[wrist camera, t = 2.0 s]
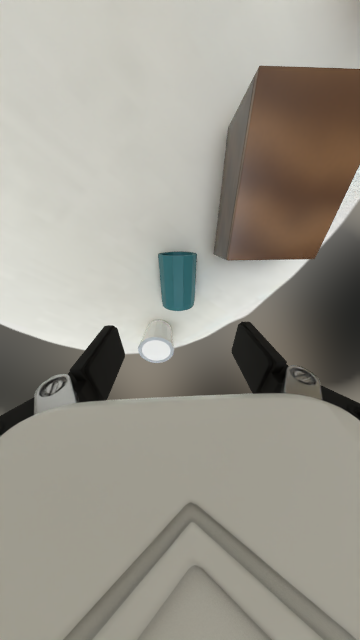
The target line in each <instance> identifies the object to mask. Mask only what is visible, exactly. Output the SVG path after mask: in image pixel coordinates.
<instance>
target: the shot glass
mask: <svg viewBox="0 0 360 640" xmlns="http://www.w3.org/2000/svg"><path fill="white" fill-rule="evenodd" d="M138 349H139V354H140V355H141V357H142V358H144V359H145V360H147V361H149V362H153V363H160V362H165V361H167V360H168V359H170V358H171V357H172V355H173V353H174V346H173V338H172V331H171V327H170V325H169V324H168V323H167V322H165V321H163V320H155V321H152V322H151V323H150V324H149V325H148V327H147V329H146V332H145V334H144V336H143V338H142V340H141V343H140V345H139V347H138Z"/></svg>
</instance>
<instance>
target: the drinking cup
mask: <svg viewBox="0 0 360 640" xmlns="http://www.w3.org/2000/svg"><path fill="white" fill-rule="evenodd" d="M158 258H159V269H160V281H161V293H162V302H163V306H164V307H165V308H166V309H169V310H173V311H183V310H187V309H190V308H192V307H193V305H194V298H195V278H196V262H197V261H196V259H197V254H196V253H192V252H165V253H159V254H158Z"/></svg>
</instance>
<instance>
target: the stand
mask: <svg viewBox="0 0 360 640" xmlns="http://www.w3.org/2000/svg"><path fill="white" fill-rule="evenodd" d="M359 165H360V69H344V68H313V67H282V66H259V68H258V70H257V72H256V74H255V76H254V78H253V80H252V82H251V84H250V86H249V88H248V90H247V92H246V94H245V96H244V98H243V100H242V102H241V104H240V106H239V108H238V109H237V111H236V113H235V115H234V117H233V119H232V121H231V123H230V125H229V127H228V135H227V143H226V152H225V161H224V170H223V179H222V188H221V196H220V205H219V214H218V223H217V232H216V241H215V250H214V255H217V256H219V257H221V258H224V259H226V260H284V259H314V258H315V257H316V255H317V253H318V251H319V249H320V247H321V245H322V242H323V240H324V238H325V236H326V234H327V232H328V230H329V228H330V226H331V224H332V222H333V219H334V217H335V215H336V213H337V211H338V209H339V207H340V205H341V203H342V201H343V199H344V196H345V194H346V192H347V190H348V188H349V186H350V184H351V182H352V180H353V178H354V175H355V173H356V171H357V169H358V167H359Z"/></svg>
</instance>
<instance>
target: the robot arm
mask: <svg viewBox="0 0 360 640" xmlns="http://www.w3.org/2000/svg"><path fill="white" fill-rule="evenodd" d="M232 354H233V356H234V358H235V360H236V362H237V364H238V366H239V368H240V370H241V372H242V374H243V376H244V378H245V379H246V381H247V383H248V385H249V387H250V389H251V391H252V393H253V394H230V395H206V396H185V397H184V396H182V397H161V398H141V399H120V400H107V398H108V396H109V393H110V391H111V388H112V386H113V384H114V381H115V379H116V377H117V374H118V372H119V369H120V367H121V364H122V362H123V360H124V357H125V353H124V349H123V346H122V343H121V339H120V336H119V333H118V329H117V328H116V327H114V326H104V328H103V329H102V330H101V331H100V333H99V334H98V335H97V336H96V338H95V339H94V340H93V341H92V343H91V344H90V345H89V346H88V348H87V349H86V350H85V351H84V353H83V354H82V356H80V358H79V359H78V360H77V362H76V363H75V364H74V365H73V367H72V368H71V369H70V372H69V373H68V375H67V374H61V375H56V376H54V377H52V378H50V379H48V380H46V381H45V382H44V383H43V384H41V385H40V386H39V387H38V389H37V390H36V392H35V395H34V396H35V397H34V398H32V399H30V400H28V401H27V402H25V403H23V404H21V405H19V406H17V407H16V408H14V409H12V410H10V411H8V412H7V413H5V414H3V415H1V416H0V640H360V403H358V402H355V401H353V400H351V399H349V398H347V397H344V396H343V395H340V394H338V393H336V392H334V391H332V390H330V389H328V388H325V387H323V386H321V385H320V381H319V379H318V378H317V376H316V375H314V374H313V373H312V372H311V371H309V370H307V369H305V368H303V367H300V366H296V365H291V366H288V365H287V364H286V363H287V362H286V361H285V359H284V358H283V357H282V356H281V355H280V354H279V353H278V352H277V351H276V350H275V349H274V347H272V345H271V344H270V343H269V342H268V341H267V340H266V339H265V338H264V337H263V336H262V334H261V333H260V332H259V331H258V330H257V329H256V328H255V327H254V326H253V325H252V324H251V323H250V322H241V323H240V324H239V325H238V328H237V332H236V336H235V339H234V344H233V347H232ZM104 400H105V401H104Z"/></svg>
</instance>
